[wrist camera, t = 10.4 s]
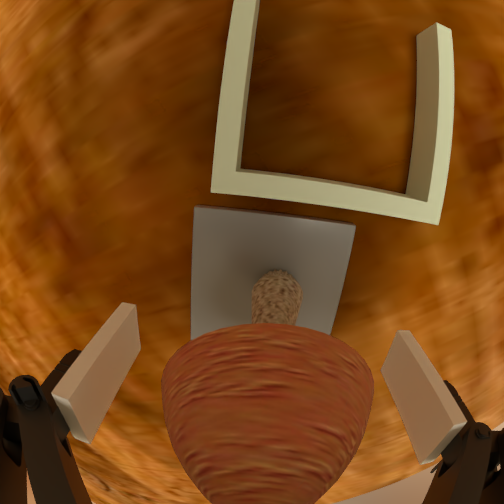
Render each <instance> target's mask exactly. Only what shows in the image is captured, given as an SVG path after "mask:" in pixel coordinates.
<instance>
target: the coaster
mask: <svg viewBox="0 0 504 504" xmlns="http://www.w3.org/2000/svg"><path fill="white" fill-rule="evenodd" d="M355 229H356V225H354V224H353V223H350V222H343V221H336V220H329V219H321V218H314V217H306V216H298V215H290V214H282V213H274V212H265V211H256V210H247V209H237V208H227V207H217V206H206V205H196V206H195V207H194V222H193V243H192V273H191V340H193V339H195V338H197V337H199V336H201V335H203V334H205V333H209V332H212V331H215V330H218V329H221V328H225V327H231V326H236V325H242V324H252V289H253V287H254V285H255V284H256V283H257V282H258V280H259V279H260V278H261V277H262V276H263V275H264V274H267V273H268V272H269V271H272V272H273V271H274V270H275V269H276V270H277V271H279V270H280V269H281V270H282V271H283V272H284V271H287V273H288V274H292V276H293V277H294V278H295V279H296V281H297V282H298V283H299V285H300V286H301V289H302V291H303V299H302V303H301V306H300V310H299V313H298V317H297V320H296V324H295V326H300V327H306V328H310V329H313V330H316V331H319V332H323V333H326V334H328V335H330V333H331V330H332V326H333V323H334V319H335V315H336V311H337V308H338V304H339V300H340V296H341V292H342V288H343V284H344V280H345V275H346V271H347V267H348V262H349V258H350V253H351V249H352V244H353V239H354V234H355Z"/></svg>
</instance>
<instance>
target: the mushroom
mask: <svg viewBox="0 0 504 504" xmlns="http://www.w3.org/2000/svg"><path fill="white" fill-rule="evenodd" d="M302 299H303V291H302V289H301V286H300V285H299V283H298V282H297V281H296V279H295V278H294V277H293V276H292V274H288V273H287V271H284V272H283V271H282V270H281V269H280V270H279V271H277V270H276V269H275V270H274V271H273V272H272V271H269V272H268V273H267V274H264V275H263V276H262V277H261V278H260V279H259V280H258V282H257V283H256V284H255V285H254V287H253V289H252V324H242V325H236V326H231V327H225V328H221V329H218V330H215V331H212V332H209V333H205V334H203V335H201V336H199V337H197V338H195V339H193V340H191V341H189V342H188V343H186V344H185V345H184V346H182V347H181V348H180V349H178V350H177V351H176V353H175V354H174V355H173V356H172V357H171V358H170V359H169V361H168V363H167V365H166V367H165V369H164V371H163V376H162V380H161V383H162V400H163V410H164V417H165V423H166V427H167V430H168V434H169V437H170V440H171V443H172V446H173V449H174V451H175V453H176V455H177V457H178V459H179V461H180V462H181V464H182V466H183V468H184V470H185V472H186V473H187V475H188V476H189V477H190V479H191V480H192V481H193V483H194V484H195V485H196V486H197V488H198V489H199V490H200V492H201V493H202V494H203V495H204V496H205V497H206V498H207V499H208V500H209V501H210V502H211V503H212V504H314V503H315V502H316V501H317V500H318V499H319V498H320V497H321V496H323V495H324V494H325V493H326V492H327V491H328V490H329V489H330V488H331V487H332V485H333V484H334V483H335V482H336V481H337V480H338V479H339V477H340V476H341V475H342V473H343V472H344V470H345V469H346V467H347V466H348V465H349V463H350V462H351V460H352V459H353V457H354V455H355V454H356V452H357V450H358V447H359V445H360V443H361V440H362V438H363V436H364V433H365V429H366V426H367V422H368V418H369V414H370V410H371V405H372V400H373V394H374V380H373V377H372V373H371V370H370V368H369V367H368V365H367V363H366V362H365V360H364V359H363V358H362V357H361V356H360V355H359V354H358V353H357V352H356V351H355V350H354V349H353V348H351V347H350V346H348V345H347V344H346V343H344V342H343V341H341V340H339V339H337V338H334V337H332V336H330V335H328V334H326V333H323V332H319V331H316V330H313V329H310V328H306V327H300V326H295V324H296V320H297V317H298V313H299V310H300V306H301V303H302Z"/></svg>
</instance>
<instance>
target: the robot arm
mask: <svg viewBox="0 0 504 504" xmlns="http://www.w3.org/2000/svg"><path fill="white" fill-rule="evenodd" d="M140 350H141V345H140V338H139V329H138V320H137V310H136V305H135V304H129V303H124V302H122V303H121V304H120V306H119V307H118V308H117V309H116V310H115V311H114V313H113V314H112V315H111V316H110V317H109V319H108V320H107V321H106V322H105V324H104V325H103V326H102V327H101V328H100V330H99V331H98V332H97V333H96V335H95V336H94V337H93V338H92V340H91V341H90V342H89V343H88V345H87V346H86V347H85V348H84V350H83V351H80V350H76V349H74V350H72V351H71V352H69V353H67V354H66V355H65V356H64V357H63V358H62V360H61V361H60V363H59V364H58V365H57V366H56V367H55V370H53V371H52V372H51V373H50V375H49V376H48V377H47V378H46V380H45V381H44V382H43V384H42V385H41V386H40V385H39V383H38V381H37V379H35V378H34V377H33V376H30V375H21V376H18V377H16V378H15V379H13V380H12V382H11V383H10V385H9V389H8V390H9V392H10V394H11V396H7V395H4V393H3V391H2V389H1V388H0V504H27V483H26V482H27V480H26V477H27V471H28V475H29V480H30V484H31V487H32V491H33V494H34V498H35V501H36V504H92V502H91V499H90V497H89V495H88V493H87V490H86V488H85V485H84V483H83V480H82V478H81V475H80V473H79V470H78V467H77V465H76V462H75V459H74V456H73V453H72V450H71V447H70V444H69V441H68V439H67V437H66V436H67V434H68V432H69V431H71V433H72V435H73V436H74V438H76V439H78V440H81V441H83V442H86V443H88V444H91V442H92V440H93V438H94V436H95V434H96V432H97V430H98V428H99V426H100V424H101V422H102V420H103V418H104V416H105V414H106V412H107V410H108V409H109V407H110V405H111V403H112V401H113V399H114V397H115V395H116V393H117V391H118V390H119V388H120V386H121V384H122V382H123V380H124V378H125V377H126V375H127V373H128V371H129V369H130V367H131V366H132V364H133V362H134V360H135V358H136V357H137V355H138V353H139V351H140ZM381 372H382V375H383V377H384V379H385V381H386V384H387V386H388V388H389V390H390V393H391V395H392V397H393V400H394V402H395V404H396V407H397V409H398V411H399V414H400V416H401V418H402V421H403V423H404V426H405V428H406V431H407V433H408V436H409V438H410V441H411V443H412V446H413V448H414V451H415V454H416V456H417V459H418V462H419V464H420V465H422V464H426V463H429V462H433V461H434V460H435V459H436V458H437V457H438V456H439V455H440V454H441V455H442V457H443V459H442V460H441V461H440V462H439V463H438V464H437V465H436V466H435V467H434V468H433V469H432V471H431V473H433V472H434V471H435V470H436V469H437V471H436V473H435V476H434V478H433V480H432V483H431V485H430V488H429V490H428V492H427V495H426V497H425V499H424V501H423V503H422V504H504V428H503V429H502V430H501V431H491V429H490V428H489V427H488V426H487V425H486V424H484V423H481V422H477V423H476V422H475V421H474V419H473V417H472V415H471V414H470V412H469V410H468V409H467V407H466V405H465V404H464V402H462V399H461V397H460V396H458V393H457V391H456V389H455V388H454V386H452V385H451V384H450V383H449V382H448V381H447V380H444V381H443V380H442V378H441V377H440V375H439V374H438V372H437V371H436V369H435V368H434V366H433V365H432V363H431V361H430V360H429V358H428V357H427V355H426V354H425V352H424V351H423V349H422V348H421V347H420V345H419V344H418V342H417V341H416V339H415V338H414V336H413V335H412V334H411V332H410V331H409V330H397V332H396V335H395V338H394V340H393V343H392V345H391V347H390V350H389V352H388V355H387V357H386V359H385V362H384V364H383V366H382V368H381ZM499 464H500V465H501V466H500V467H501V469H500V470H499V471H497V466H498V465H499Z"/></svg>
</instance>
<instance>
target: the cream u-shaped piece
mask: <svg viewBox="0 0 504 504" xmlns="http://www.w3.org/2000/svg"><path fill="white" fill-rule="evenodd" d="M259 5H260V0H234V3H233V9H232V15H231V21H230V27H229V34H228V40H227V47H226V54H225V62H224V69H223V77H222V84H221V93H220V101H219V110H218V119H217V128H216V138H215V148H214V159H213V170H212V182H211V193H222V194H232V195H242V196H252V197H261V198H270V199H278V200H287V201H294V202H302V203H310V204H317V205H324V206H331V207H338V208H344V209H351V210H357V211H363V212H369V213H375V214H381V215H387V216H393V217H398V218H404V219H409V220H414V221H420V222H425V223H430V224H435V225H439V220H440V215H441V210H442V205H443V200H444V194H445V189H446V183H447V176H448V169H449V161H450V153H451V143H452V131H453V115H454V59H453V44H452V33H451V29H449V28H447V27H445V26H443V25H441V24H438V23H435V24H433V25H432V26H430V27H429V28H427V29H425V30H424V31H422V32H421V33H419V34H418V35H416V41H417V90H416V110H415V124H414V135H413V144H412V153H411V161H410V168H409V175H408V182H407V188H406V194H402V193H397V192H392V191H387V190H382V189H377V188H372V187H367V186H362V185H356V184H350V183H345V182H339V181H333V180H326V179H320V178H313V177H306V176H299V175H292V174H284V173H276V172H268V171H259V170H249V169H240V167H241V157H242V147H243V138H244V128H245V119H246V110H247V101H248V93H249V84H250V75H251V67H252V59H253V51H254V43H255V35H256V27H257V20H258V12H259Z"/></svg>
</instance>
